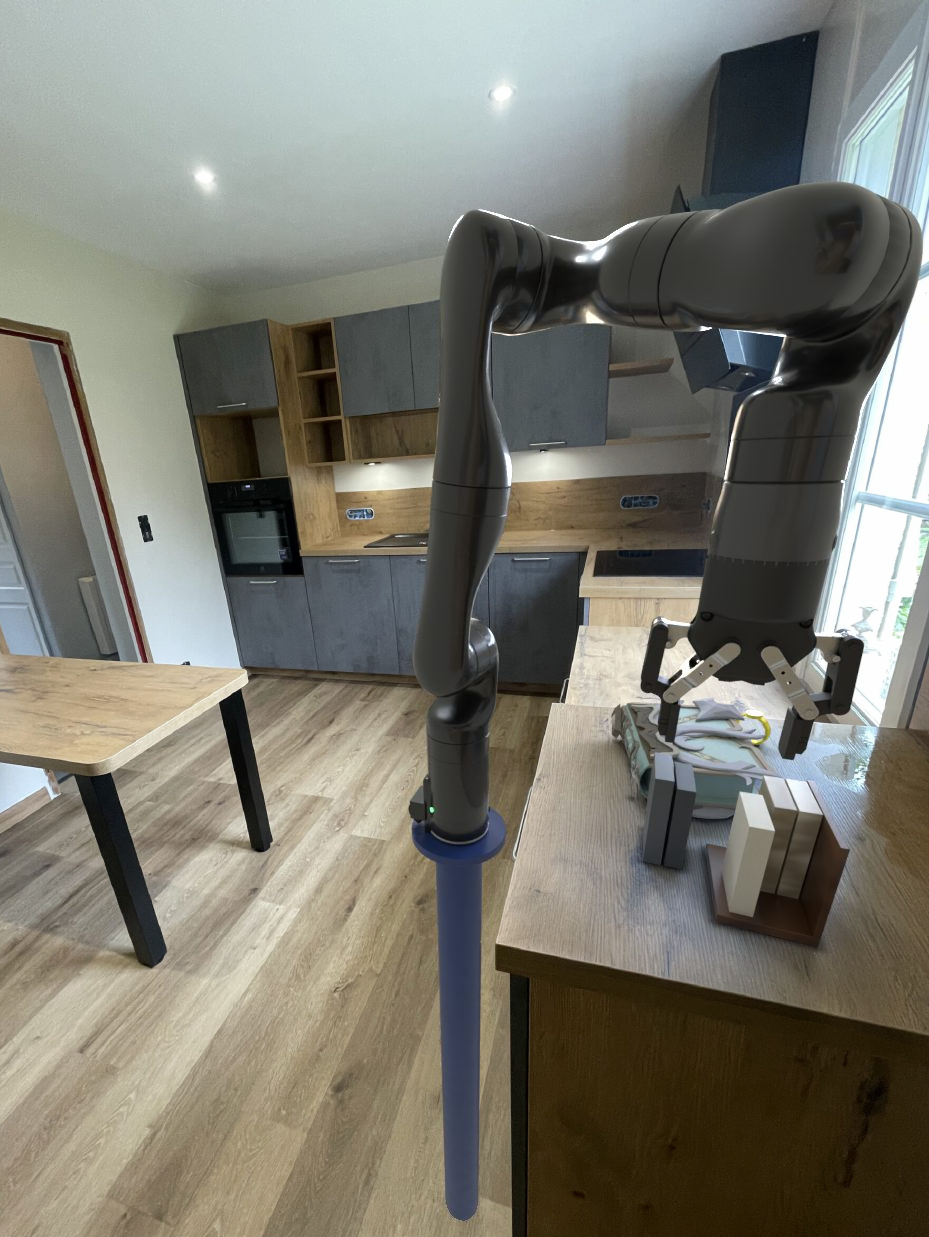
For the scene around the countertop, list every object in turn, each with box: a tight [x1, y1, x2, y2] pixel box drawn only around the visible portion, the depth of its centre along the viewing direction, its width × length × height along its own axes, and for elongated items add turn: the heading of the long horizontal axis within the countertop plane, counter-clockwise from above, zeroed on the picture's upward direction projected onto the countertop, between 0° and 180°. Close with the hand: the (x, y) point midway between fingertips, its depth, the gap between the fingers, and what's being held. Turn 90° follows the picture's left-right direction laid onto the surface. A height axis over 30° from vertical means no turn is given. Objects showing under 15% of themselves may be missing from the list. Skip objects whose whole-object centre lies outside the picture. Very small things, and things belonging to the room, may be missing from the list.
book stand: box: [704, 776, 851, 948], centre depth 63 cm, size 10×13×13 cm
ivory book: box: [722, 792, 775, 917], centre depth 62 cm, size 2×7×12 cm, turn 159°
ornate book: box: [610, 696, 786, 820], centre depth 89 cm, size 23×10×30 cm
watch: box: [736, 709, 772, 746], centre depth 99 cm, size 6×3×6 cm, turn 32°
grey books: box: [642, 752, 696, 870], centre depth 71 cm, size 5×7×13 cm
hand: (724, 746), depth 44 cm, fingers open, 8 cm apart
